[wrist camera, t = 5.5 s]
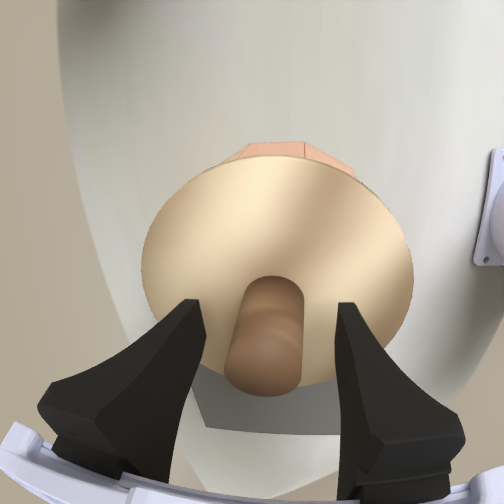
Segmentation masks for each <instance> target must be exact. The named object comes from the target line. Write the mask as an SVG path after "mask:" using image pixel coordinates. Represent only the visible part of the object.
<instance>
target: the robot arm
mask: <svg viewBox="0 0 504 504" xmlns="http://www.w3.org/2000/svg"><path fill="white" fill-rule="evenodd" d="M503 156H504V148H499V147H497V148H495V149H493V151H492V154H491V163H490V172H489V179H488V186H487V193H486V199H485V205H484V210H483V216H482V221H481V226H480V230H479V235H478V239H477V244H476V248H475V252H474V256H473V261H474V263H475V264H476V265H477V266H504V160H503ZM485 257H487V258H486V259H485V260H484V258H485ZM206 338H207V335H206V330H205V326H204V321H203V317H202V312H201V308H200V303H199V299H184V300H183V301H182V302H180V303H179V304H178V305H177V306H176V307H175V308H174V309H173V310H172V311H171V312H170V313H168V314H167V315H166V316H165V317H164V318H163V319H162V320H161V321H160V322H158V323H157V324H156V325H155V326H154V327H153V328H152V329H150V330H149V331H148V332H147V333H145V334H144V335H143V336H142V337H140V338H139V339H138V340H137V341H135V342H134V343H133V344H131V345H130V346H128V347H127V348H125V349H124V350H122V351H121V352H120V353H118V354H116V355H115V356H113V357H111V358H109V359H108V360H106V361H104V362H102V363H100V364H98V365H97V366H95V367H92V368H90V369H88V370H86V371H84V372H81V373H79V374H77V375H74V376H71V377H68V378H65V379H62V380H59V381H56V382H53V383H51V385H50V386H49V388H48V389H47V391H46V393H45V394H44V395H43V397H42V398H41V400H40V401H39V403H38V405H37V409H38V412H39V414H40V415H41V417H42V418H43V419H44V420H45V421H46V423H47V424H48V425H49V426H50V427H51V428H52V429H53V431H54V432H55V433H56V434H57V435H58V437H57V439H56V441H55V443H54V444H53V445H52V444H50V443H48V442H46V441H44V439H43V438H42V437H41V436H40V435H39V434H38V433H37V432H36V431H34V430H33V429H31V428H30V427H28V426H26V425H23V424H22V423H20V422H18V421H15V422H14V424H13V425H12V427H11V429H10V430H9V432H8V433H7V435H6V437H5V438H4V440H3V442H2V444H1V445H0V469H1V470H2V471H3V472H4V473H6V474H7V475H8V476H10V477H11V478H12V479H13V480H15V481H16V482H17V483H19V484H20V485H22V486H23V487H24V488H25V489H27V490H29V491H31V492H32V493H34V494H35V495H37V496H39V497H40V498H42V499H44V500H46V501H47V502H49V503H51V504H504V465H501V466H498V467H495V468H492V469H488V470H485V471H482V472H481V473H478V474H477V475H476V476H474V477H473V478H472V479H471V480H470V481H469V482H466V483H462V484H458V485H454V486H450V482H449V475H448V474H450V473H451V464H450V462H451V460H452V459H453V458H454V457H455V456H456V455H457V454H458V453H459V452H460V450H461V449H462V447H463V446H464V444H465V435H464V431H463V428H462V425H461V422H460V420H459V418H458V415H457V414H456V413H454V412H453V411H451V410H450V409H448V408H447V407H445V406H443V405H442V404H440V403H439V402H437V401H436V400H435V399H433V398H432V397H431V396H429V395H428V394H427V393H425V392H424V391H423V390H422V389H421V388H420V387H419V386H417V385H416V384H415V383H414V382H413V381H412V380H411V379H410V378H409V377H408V376H407V375H406V374H405V373H404V372H403V371H402V370H401V369H400V368H399V367H398V366H397V365H396V364H395V362H394V361H393V360H392V359H391V358H390V356H389V355H388V354H387V353H386V351H385V350H384V349H383V347H382V346H381V345H380V343H379V342H378V340H377V339H376V337H375V336H374V334H373V333H372V331H371V330H370V328H369V327H368V325H367V323H366V322H365V320H364V318H363V317H362V315H361V313H360V311H359V309H358V307H357V305H356V304H355V303H354V302H338V311H337V321H336V330H335V339H334V352H335V369H336V377H337V386H338V394H339V403H340V415H341V434H340V461H339V477H338V489H337V500H336V501H287V500H285V501H284V500H270V499H258V498H248V497H239V496H231V495H224V494H218V493H211V492H205V491H200V490H195V489H189V488H185V487H180V486H175V485H171V484H168V483H169V475H170V468H171V461H172V456H173V450H174V445H175V440H176V436H177V431H178V426H179V422H180V418H181V414H182V410H183V407H184V403H185V400H186V398H187V395H188V392H189V390H190V387H191V385H192V382H193V380H194V377H195V374H196V372H197V369H198V366H199V364H200V361H201V358H202V355H203V351H204V347H205V342H206Z"/></svg>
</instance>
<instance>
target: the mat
mask: <svg viewBox="0 0 504 504" xmlns="http://www.w3.org/2000/svg"><path fill="white" fill-rule="evenodd" d="M191 386H192V389H193V392H194V395H195V398H196V401H197V403H198V406H199V409H200V412H201V414H202V417H203V420H204V422H205V425H206V427H210V428H217V429H226V430H235V431H245V432H257V433H272V434H293V435H340V434H341V415H340V403H339V394H338V386H337V378H336V379H333V380H330V381H327V382H323V383H318V384H314V385H308V386H299V387H296V388H295V389H294V390H292V391H291V392H289V393H287V394H284V395H281V396H276V397H260V396H254V395H250V394H247V393H245V392H242V391H240V390H239V389H237V388H235V387H234V386H233V385H232V384H231V383H230V382H229V381H228V380H227V378H226V377H225V376H224V375H222V374H219V373H217V372H215V371H213V370H211V369H209V368H207V367H206V366H204V365H202V364H199V366H198V369H197V372H196V374H195V377H194V380H193V382H192V385H191Z"/></svg>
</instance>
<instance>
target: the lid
mask: <svg viewBox="0 0 504 504" xmlns="http://www.w3.org/2000/svg"><path fill="white" fill-rule="evenodd" d="M141 273H142V281H143V287H144V291H145V295H146V298H147V301H148V303H149V306H150V308H151V311H152V313H153V314H154V316H155V318H156V320H157V321H158V322H160V321H161V320H162V319H163V318H164V317H165V316H166V315H167V314H168V313H170V312H171V311H172V310H173V309H174V308H175V307H176V306H177V305H178V304H179V303H180V302H182V301H183V300H184V299H199V303H200V308H201V312H202V317H203V321H204V326H205V330H206V335H207V338H206V342H205V347H204V351H203V355H202V358H201V361H200V364H202V365H204V366H206V367H207V368H209V369H211V370H213V371H215V372H217V373H219V374H222V375H224V376H225V377H226V378H227V380H228V381H229V382H230V383H231V384H232V385H233V386H234V387H235V388H237V389H239V390H240V391H242V392H245V393H247V394H250V395H254V396H260V397H276V396H281V395H284V394H287V393H289V392H291V391H292V390H294V389H295V388H296V387H299V386H308V385H314V384H318V383H323V382H327V381H330V380H333V379H336V378H337V377H336V369H335V352H334V339H335V330H336V321H337V311H338V302H354V303H355V304H356V305H357V307H358V309H359V311H360V313H361V315H362V317H363V318H364V320H365V322H366V323H367V325H368V327H369V328H370V330H371V331H372V333H373V334H374V336H375V337H376V339H377V340H378V342H379V343H380V345H381V346H382V347H383V349H384V348H385V347H386V346H387V345H388V343H389V342H390V341H391V340H392V339H393V337H394V336H395V335H396V333H397V331H398V330H399V328H400V327H401V325H402V323H403V321H404V319H405V317H406V314H407V312H408V309H409V306H410V302H411V298H412V292H413V284H414V277H413V264H412V259H411V254H410V250H409V247H408V244H407V242H406V239H405V237H404V234H403V232H402V231H401V229H400V227H399V226H398V224H397V222H396V221H395V219H394V217H393V216H392V214H391V212H390V211H389V209H388V208H387V207H386V206H385V205H384V203H383V202H382V201H381V200H380V199H379V198H378V196H377V195H375V194H374V193H373V192H372V191H371V190H370V189H369V188H367V187H366V186H365V185H364V184H363V183H361V182H360V181H358V180H357V179H355V178H354V177H352V176H350V175H349V174H347V173H346V172H344V171H341V170H339V169H337V168H335V167H333V166H330V165H328V164H326V163H322V162H319V161H315V160H312V159H308V158H304V157H297V156H290V155H256V156H249V157H242V158H238V159H235V160H231V161H228V162H224V163H221V164H219V165H217V166H215V167H212V168H210V169H208V170H206V171H204V172H202V173H201V174H199V175H198V176H196V177H195V178H193V179H191V180H190V181H188V182H187V183H186V184H185V185H184V186H183V187H182V188H181V189H179V190H178V191H177V192H176V193H175V194H174V195H173V196H172V197H171V198H170V199H169V200H168V201H167V202H166V204H165V205H164V206H163V207H162V209H161V210H160V211H159V212H158V214H157V215H156V217H155V219H154V221H153V223H152V224H151V226H150V228H149V231H148V234H147V237H146V239H145V242H144V247H143V253H142V265H141Z"/></svg>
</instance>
